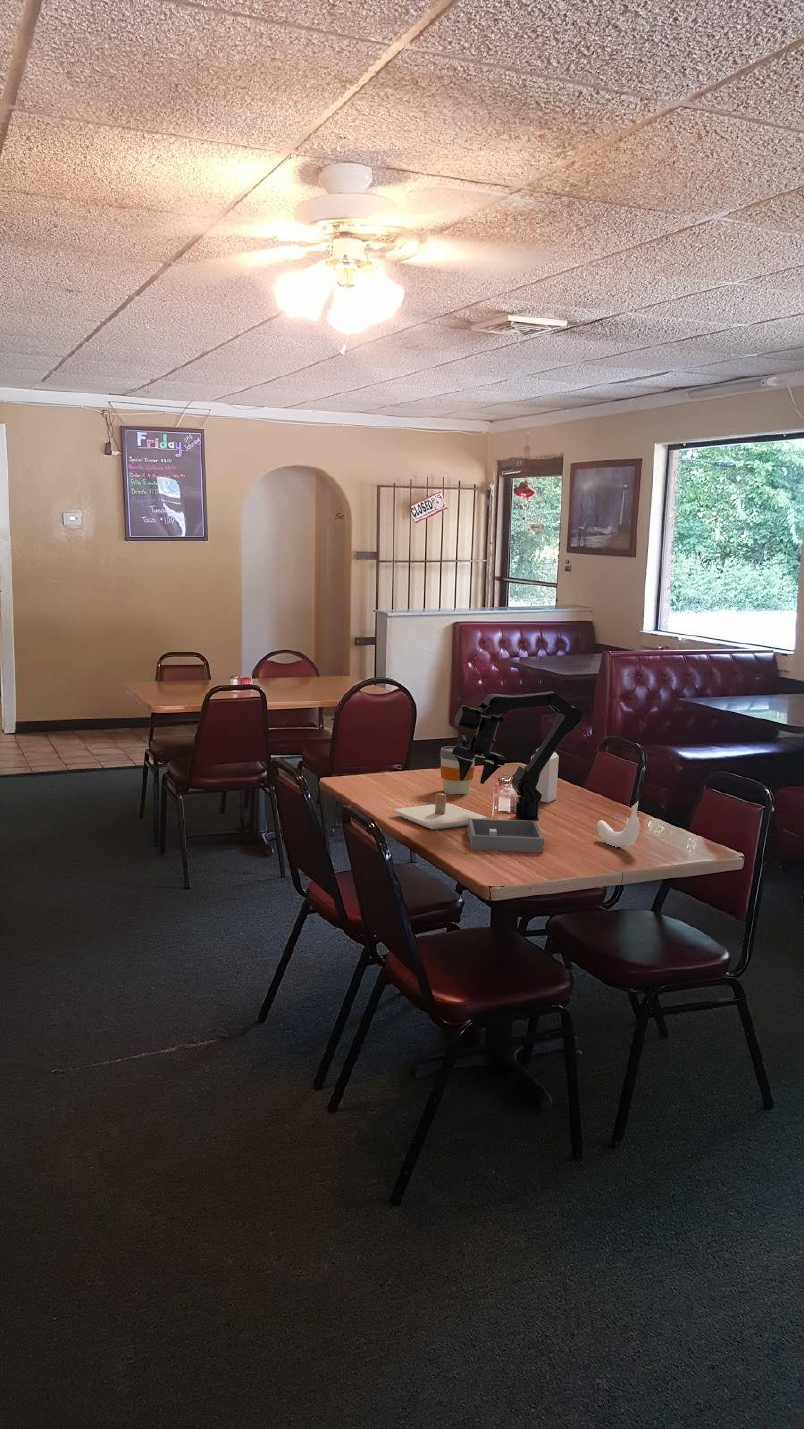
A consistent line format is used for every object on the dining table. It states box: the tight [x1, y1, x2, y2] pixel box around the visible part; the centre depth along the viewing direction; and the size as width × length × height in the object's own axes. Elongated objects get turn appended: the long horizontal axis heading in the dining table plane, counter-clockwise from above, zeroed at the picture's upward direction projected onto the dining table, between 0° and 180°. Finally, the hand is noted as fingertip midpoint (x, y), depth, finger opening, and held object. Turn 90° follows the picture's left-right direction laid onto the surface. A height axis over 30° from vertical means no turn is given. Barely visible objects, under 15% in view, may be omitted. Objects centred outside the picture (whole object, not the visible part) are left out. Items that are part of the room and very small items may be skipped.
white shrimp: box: [596, 801, 641, 849], centre depth 307 cm, size 5×19×15 cm, turn 28°
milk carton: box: [530, 747, 560, 804], centre depth 362 cm, size 7×7×19 cm
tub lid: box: [392, 792, 489, 831], centre depth 329 cm, size 21×21×8 cm
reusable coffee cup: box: [439, 745, 477, 795], centre depth 369 cm, size 13×13×15 cm
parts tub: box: [467, 818, 545, 853], centre depth 308 cm, size 20×20×4 cm
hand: (471, 782), depth 332 cm, fingers open, 9 cm apart
